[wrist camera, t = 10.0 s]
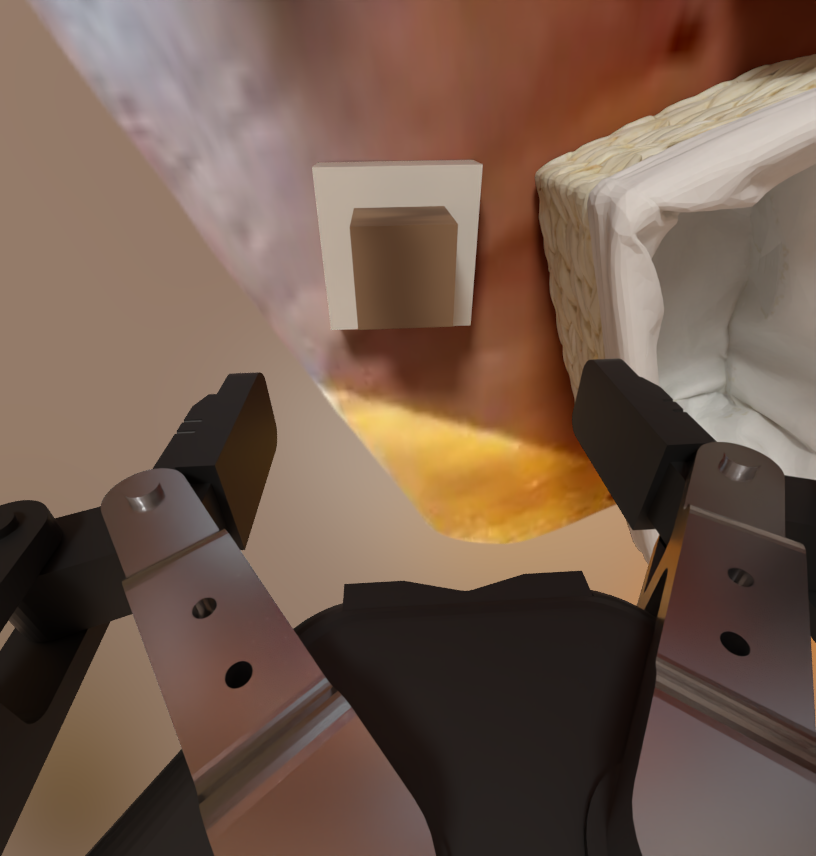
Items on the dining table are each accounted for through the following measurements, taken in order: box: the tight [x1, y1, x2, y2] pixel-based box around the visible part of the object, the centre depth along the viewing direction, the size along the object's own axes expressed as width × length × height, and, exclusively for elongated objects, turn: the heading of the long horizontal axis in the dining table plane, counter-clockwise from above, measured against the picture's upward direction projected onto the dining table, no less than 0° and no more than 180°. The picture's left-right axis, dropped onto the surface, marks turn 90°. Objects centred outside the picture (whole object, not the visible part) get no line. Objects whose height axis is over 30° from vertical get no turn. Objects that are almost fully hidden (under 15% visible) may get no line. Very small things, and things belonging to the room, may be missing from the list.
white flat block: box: [312, 160, 483, 330], centre depth 27 cm, size 9×9×3 cm
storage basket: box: [535, 54, 816, 565], centre depth 25 cm, size 24×16×15 cm
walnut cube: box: [350, 206, 458, 330], centre depth 24 cm, size 5×5×5 cm
